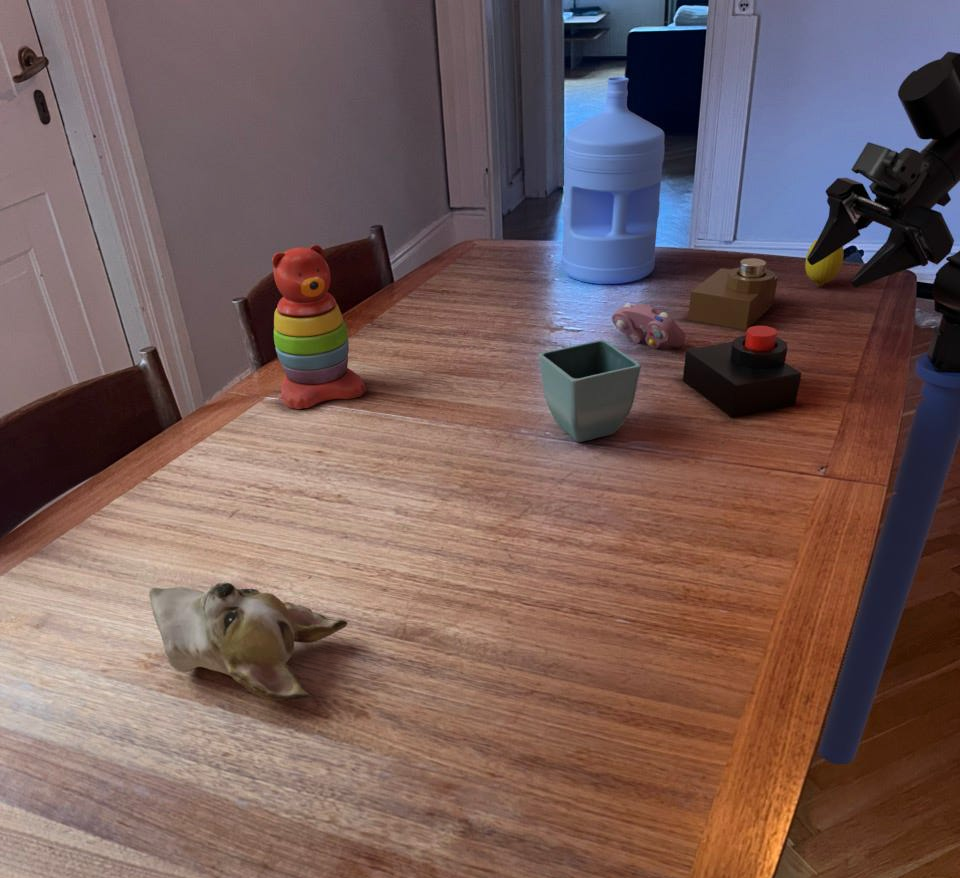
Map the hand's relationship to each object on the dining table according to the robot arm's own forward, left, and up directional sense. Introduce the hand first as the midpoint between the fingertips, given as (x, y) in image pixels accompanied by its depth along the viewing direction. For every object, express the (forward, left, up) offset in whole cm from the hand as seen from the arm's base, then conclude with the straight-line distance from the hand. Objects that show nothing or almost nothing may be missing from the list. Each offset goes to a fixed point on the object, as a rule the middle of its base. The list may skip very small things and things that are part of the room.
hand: (830, 273), depth 111 cm
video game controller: (+21, -8, -13) cm, 27 cm away
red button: (+7, +5, -7) cm, 12 cm away
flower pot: (+27, +20, -13) cm, 36 cm away
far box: (+9, -22, -13) cm, 28 cm away
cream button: (+7, -22, -7) cm, 24 cm away
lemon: (-5, -35, -13) cm, 38 cm away
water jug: (+29, -40, -13) cm, 52 cm away
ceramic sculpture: (+51, +67, -13) cm, 85 cm away
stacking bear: (+63, +12, -13) cm, 66 cm away
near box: (+9, +7, -13) cm, 17 cm away
